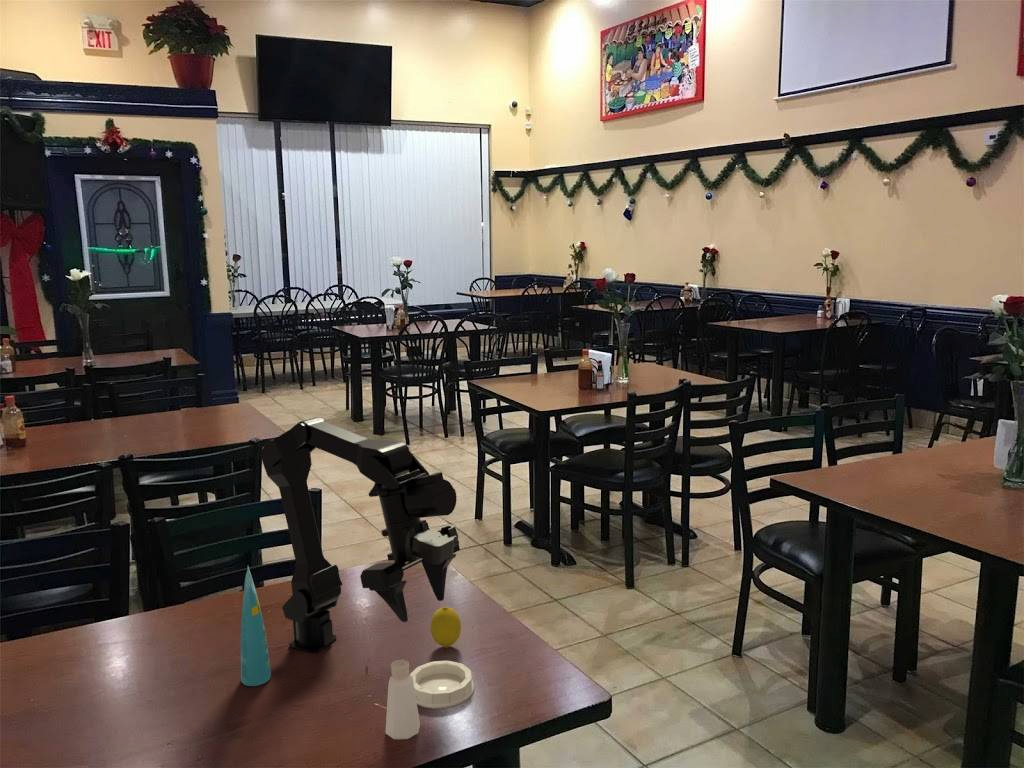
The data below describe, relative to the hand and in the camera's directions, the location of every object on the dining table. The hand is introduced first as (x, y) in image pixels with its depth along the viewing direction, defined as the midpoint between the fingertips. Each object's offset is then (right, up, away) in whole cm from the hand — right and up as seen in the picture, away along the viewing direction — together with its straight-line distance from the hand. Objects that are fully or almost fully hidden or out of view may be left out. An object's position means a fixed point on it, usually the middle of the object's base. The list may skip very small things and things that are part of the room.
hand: (423, 610), depth 134 cm
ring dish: (+3, -13, +1) cm, 14 cm away
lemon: (+3, -11, +15) cm, 19 cm away
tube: (-29, -13, +5) cm, 33 cm away
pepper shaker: (-2, -16, -10) cm, 19 cm away
